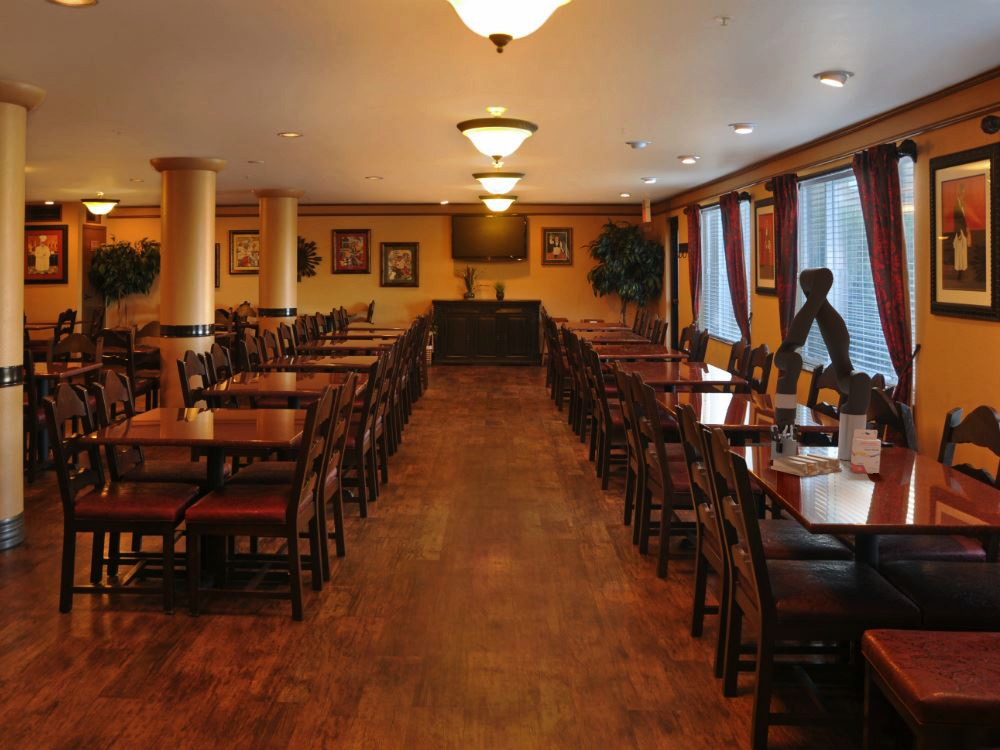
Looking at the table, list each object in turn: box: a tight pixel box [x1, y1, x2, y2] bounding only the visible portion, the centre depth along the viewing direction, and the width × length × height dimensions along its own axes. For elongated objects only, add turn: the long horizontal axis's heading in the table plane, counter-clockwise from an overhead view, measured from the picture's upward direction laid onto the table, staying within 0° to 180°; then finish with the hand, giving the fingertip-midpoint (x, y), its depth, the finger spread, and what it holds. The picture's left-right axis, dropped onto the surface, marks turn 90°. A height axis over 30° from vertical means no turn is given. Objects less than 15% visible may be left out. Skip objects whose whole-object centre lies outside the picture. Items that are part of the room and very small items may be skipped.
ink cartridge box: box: [850, 429, 882, 474], centre depth 321 cm, size 9×5×15 cm, turn 84°
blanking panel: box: [770, 437, 797, 462], centre depth 336 cm, size 2×10×9 cm, turn 32°
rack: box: [770, 453, 843, 477], centre depth 324 cm, size 20×14×4 cm
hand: (783, 452), depth 336 cm, fingers open, 4 cm apart
